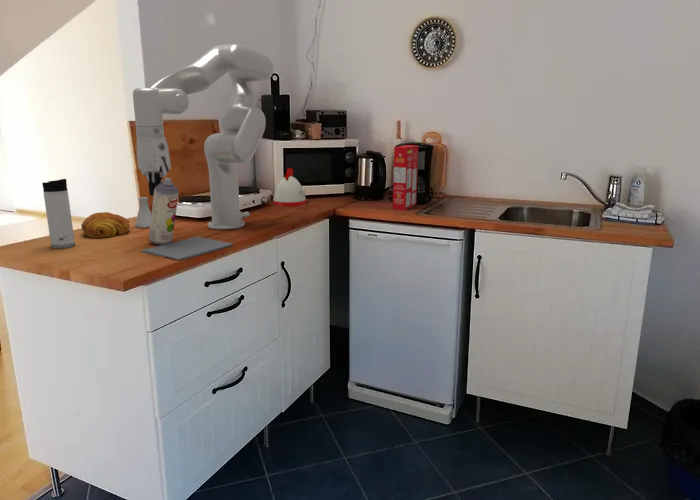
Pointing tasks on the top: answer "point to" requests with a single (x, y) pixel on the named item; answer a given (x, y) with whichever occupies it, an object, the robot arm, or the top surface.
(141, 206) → the flask
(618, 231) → the top surface
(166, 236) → the aerosol can
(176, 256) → the mat
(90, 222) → the croissant
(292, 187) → the kitchen timer
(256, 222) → the top surface
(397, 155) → the food packaging
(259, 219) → the top surface
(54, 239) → the travel mug
